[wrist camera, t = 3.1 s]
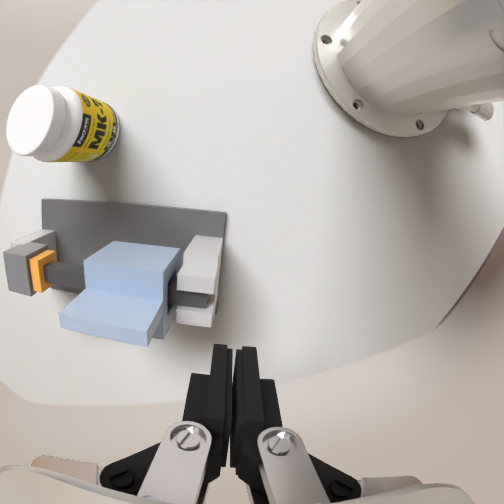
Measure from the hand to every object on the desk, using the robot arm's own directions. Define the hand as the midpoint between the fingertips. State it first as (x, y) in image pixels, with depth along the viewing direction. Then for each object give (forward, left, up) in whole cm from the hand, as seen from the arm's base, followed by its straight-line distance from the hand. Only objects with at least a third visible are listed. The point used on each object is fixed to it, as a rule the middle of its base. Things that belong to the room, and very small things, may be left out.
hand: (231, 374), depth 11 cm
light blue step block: (+6, -1, -8) cm, 10 cm away
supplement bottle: (+12, -10, -12) cm, 20 cm away
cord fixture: (+9, -1, -12) cm, 15 cm away
